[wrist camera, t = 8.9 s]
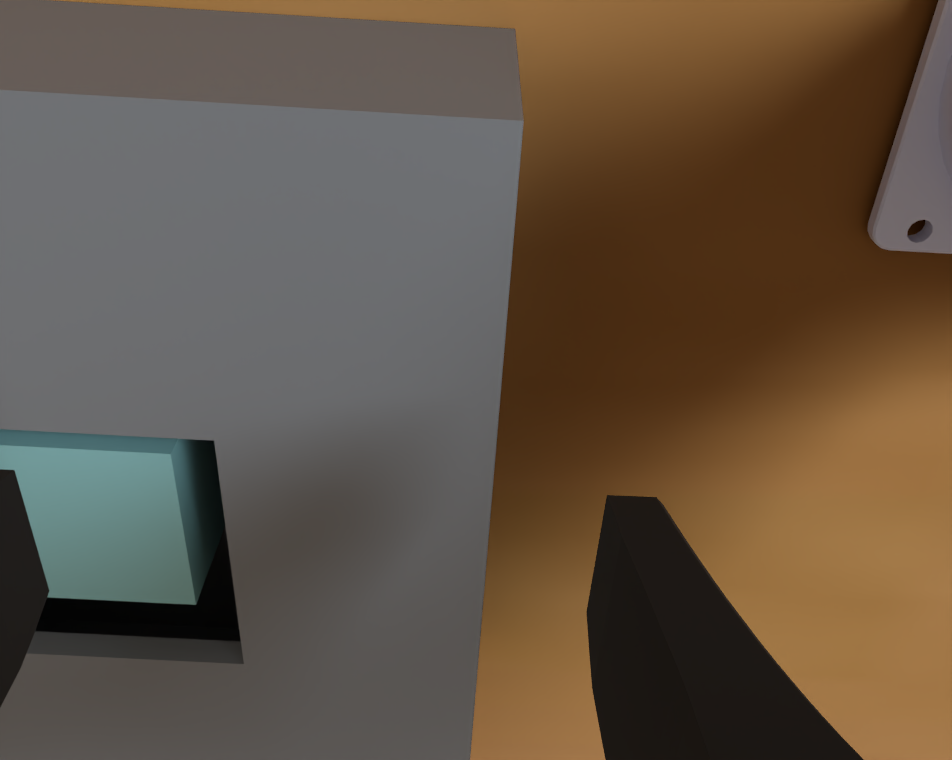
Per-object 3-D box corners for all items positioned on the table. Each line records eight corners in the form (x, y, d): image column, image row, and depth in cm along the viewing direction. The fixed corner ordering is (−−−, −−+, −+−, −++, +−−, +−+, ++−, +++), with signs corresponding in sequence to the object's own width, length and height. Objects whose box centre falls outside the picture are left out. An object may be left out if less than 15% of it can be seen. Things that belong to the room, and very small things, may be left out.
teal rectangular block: (236, 321, 21) (170, 454, 16) (250, 457, 23) (196, 604, 19) (63, 311, 21) (-48, 442, 16) (93, 448, 23) (3, 595, 19)
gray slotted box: (515, 28, 18) (523, 121, 13) (469, 642, 27) (463, 831, 22) (-304, -22, 17) (-629, 52, 12) (-54, 616, 27) (-178, 801, 22)
